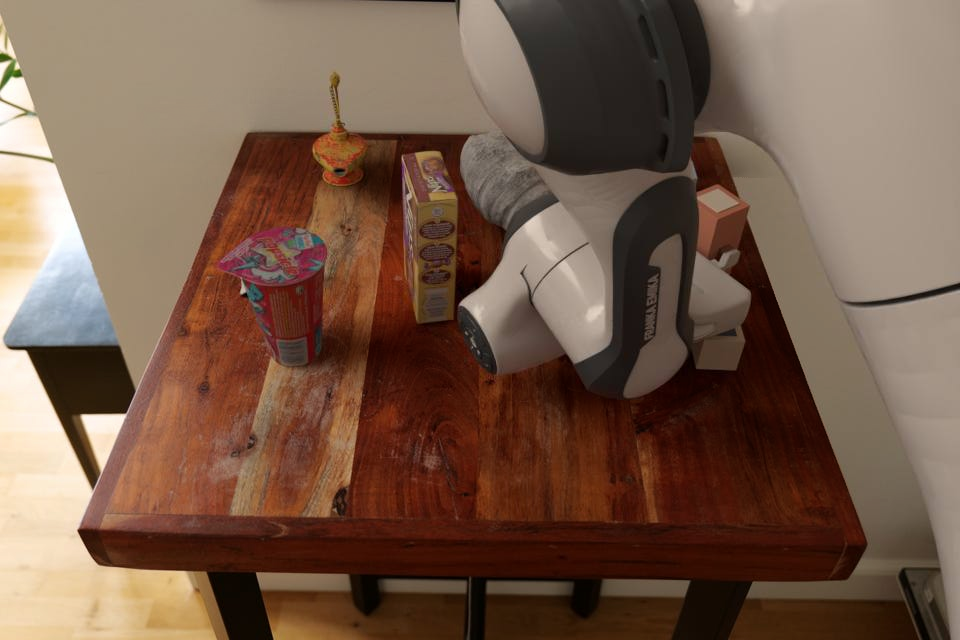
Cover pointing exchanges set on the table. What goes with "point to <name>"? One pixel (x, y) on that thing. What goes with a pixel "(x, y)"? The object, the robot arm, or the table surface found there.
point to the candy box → (429, 235)
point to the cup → (283, 289)
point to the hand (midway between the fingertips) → (713, 238)
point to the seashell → (498, 177)
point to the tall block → (719, 221)
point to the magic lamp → (340, 148)
